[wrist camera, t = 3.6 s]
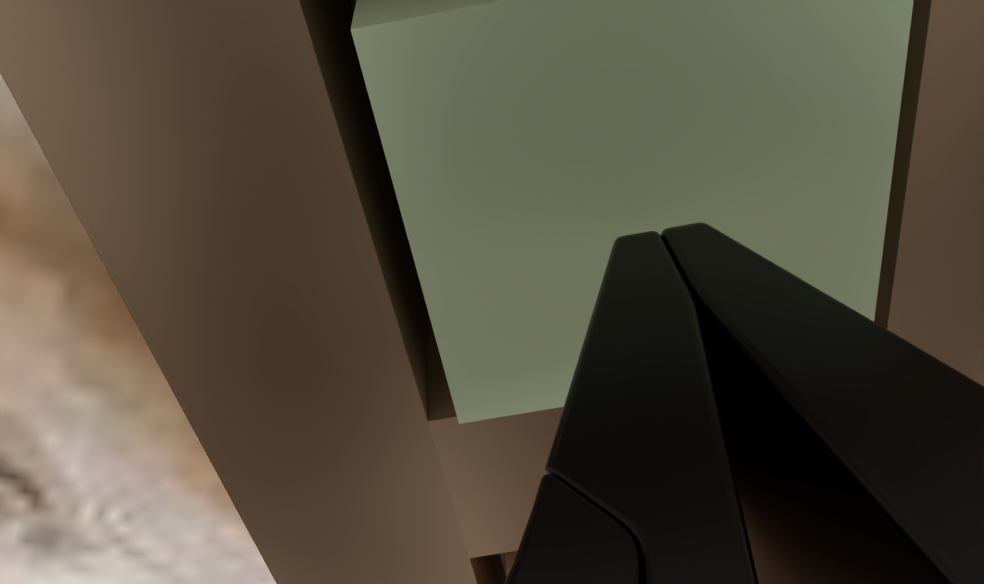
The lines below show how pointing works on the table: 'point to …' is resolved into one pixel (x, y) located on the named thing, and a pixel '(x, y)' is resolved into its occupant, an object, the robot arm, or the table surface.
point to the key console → (374, 265)
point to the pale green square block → (622, 156)
